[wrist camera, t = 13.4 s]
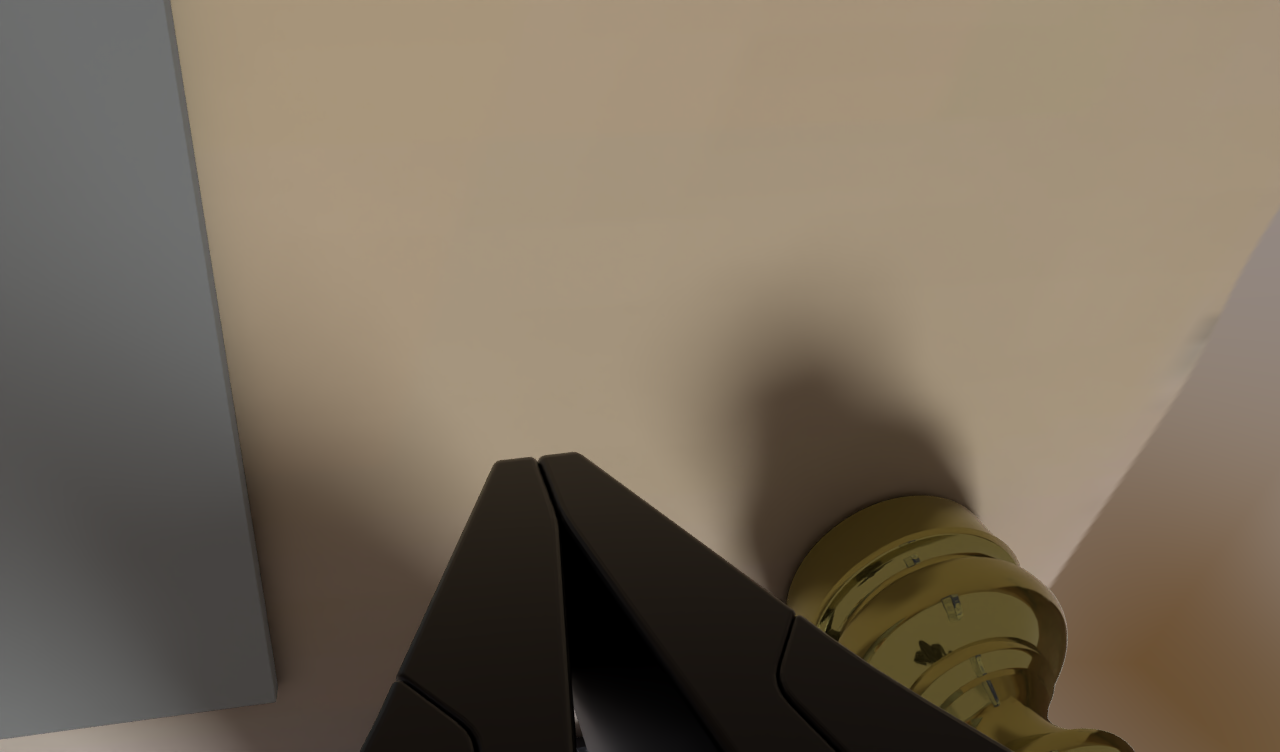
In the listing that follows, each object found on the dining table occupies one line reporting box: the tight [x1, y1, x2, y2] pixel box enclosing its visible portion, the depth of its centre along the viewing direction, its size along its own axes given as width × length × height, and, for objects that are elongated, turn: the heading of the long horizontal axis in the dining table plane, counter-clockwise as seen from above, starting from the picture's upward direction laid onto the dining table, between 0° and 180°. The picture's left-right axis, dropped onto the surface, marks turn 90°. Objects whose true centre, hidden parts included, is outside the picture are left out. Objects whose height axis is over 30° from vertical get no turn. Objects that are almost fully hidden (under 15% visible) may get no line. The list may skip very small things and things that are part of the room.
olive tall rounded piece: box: [786, 495, 1135, 752], centre depth 26 cm, size 7×7×10 cm
